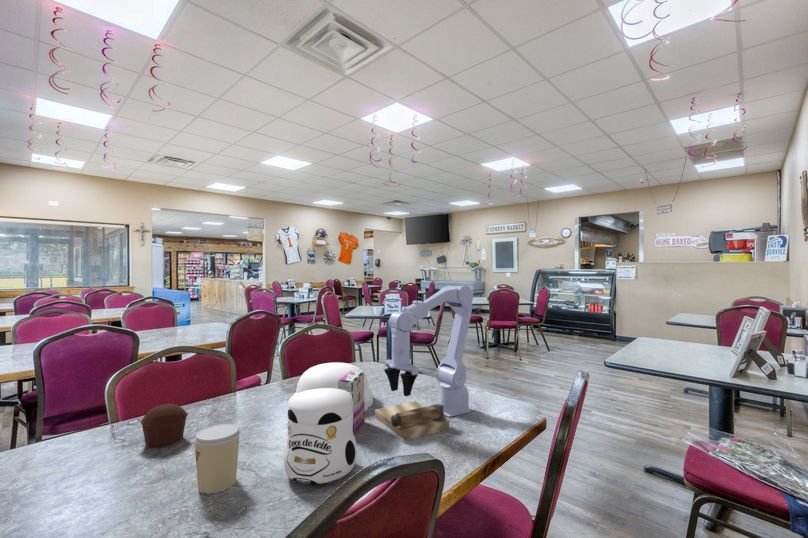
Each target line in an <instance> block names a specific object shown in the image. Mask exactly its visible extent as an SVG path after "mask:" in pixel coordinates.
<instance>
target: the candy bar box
mask: <svg viewBox="0 0 808 538" xmlns="http://www.w3.org/2000/svg"><path fill="white" fill-rule="evenodd" d="M364 374H365V371H364V370H362V371H350V372H349V373H347V374H346V375H345V376H344V377H342V378H341V379H340V380H338V389H341V390H345V391H347V392H350V394H351V395H352V399H353V433H354V435H355V434H356V433H357V431H358V430H359V428H360V427H361V426H362V425H363V423H364V422H365V411H364Z"/></svg>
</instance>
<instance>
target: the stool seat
mask: <svg viewBox="0 0 808 538" xmlns="http://www.w3.org/2000/svg"><path fill="white" fill-rule="evenodd" d="M422 407H426V406H424V404H423V405H422V404H421V403H419V402H417V401H412V402H411V401H410V402H405V403H401V404H397V405H396V404H395V405H391V406H386V407H381V408H377V409H375V410H374V418H375V419H376V420H377V421H379V422H380V423H382V424H383V425H384V426H386V427H387V428H388V429H389V430H391V431H392V433H395V435H396V436H398V437H400V438H401V439H402V440H403V441H409V440H412V439H417V438H419V437H421V438H422V437H424V436H429V435H431V434H435V433H439V432H443V431H447V430H450V419H447V416H446V415H444V416H443V417H440V418H436V419H432V420H428V421H424V422H419V423H415V424H411V425H407V426H403V427H400V426H397V427H393V425H392V423H391V417H392V415H396V413H399V412H404V411H408V410H413V409H418V408H422Z"/></svg>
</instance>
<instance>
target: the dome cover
mask: <svg viewBox="0 0 808 538" xmlns="http://www.w3.org/2000/svg"><path fill="white" fill-rule="evenodd" d="M350 371H363V370H362V369H361V368H360V367H359V366H357V365H355V364H351V363H346V362H338V361H337V362H327V363H321V364H317V365H314V366H311V367H309V368H308V369H307V370H305V371H304V372H303V373H302V375H300V378H299V379H298V382H297V386H296V388H295V389H296V391H295V393H294V394H293V395H295V394H297V393H300V392H303V391H306V390H312V389H320V388H335V389H338V380H340V379H341V378H342V377H344V376H345V375H346V374H347V373H349V372H350ZM373 396H374V395H373V392H372V388H370V387H369V382H368V377H367V376H366V374H365V373H364V412H367V411H368V409H369V408H370V407H371V406H372V405H373V403H374V402H373V401H374V397H373ZM368 407H369V408H368ZM366 410H367V411H366Z"/></svg>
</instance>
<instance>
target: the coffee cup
mask: <svg viewBox="0 0 808 538" xmlns="http://www.w3.org/2000/svg"><path fill="white" fill-rule="evenodd" d="M240 434H241V429H240V428H239V426H238V425H237V424H234V423H219V424H214V425H210V426H207V427H204V428H202V429H201V430H199V431H198V432H197V433H196V434H195V436H194V440H193V441H194V444H195V445H194V448H195V464H196V478H197V488H198V491H199V492H200V493H201V494H204V493H207V494H208V495H211V494H210V493H214V494H218V492H219V493H221V491H222V492H225V491H226V489H227V490H229V489H230V488H232V487H233V486H234V485H235V483H236V481H237V474H238V473H237V471H238V463H239V462H238V461H239V460H238V459H239V447H240ZM232 485H233V486H232ZM207 494H206V495H207Z"/></svg>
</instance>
